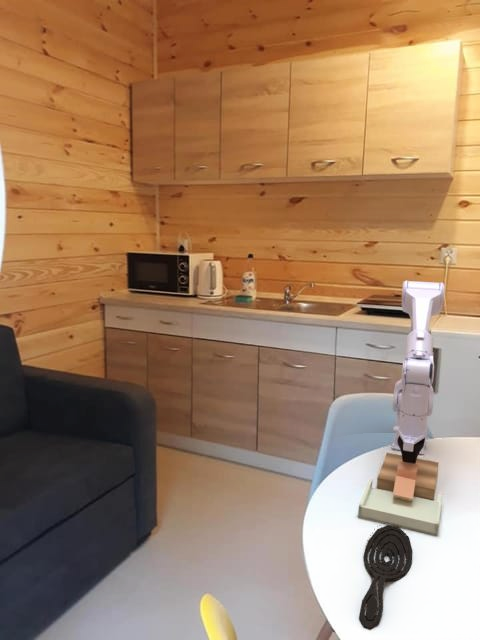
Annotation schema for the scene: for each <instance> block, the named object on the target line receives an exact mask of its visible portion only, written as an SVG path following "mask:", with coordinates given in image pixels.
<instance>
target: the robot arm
mask: <svg viewBox="0 0 480 640" xmlns="http://www.w3.org/2000/svg"><path fill="white" fill-rule="evenodd" d="M445 287H446V286H445V284H444V283H443V282H442V281H441V282H432V281H431V282H430V281H417V280H416V281H413V280H411V281H410V280H408V279H407V280H405V281H403V282H402V289H401V290H402V291H401V292H402V293H401V309H402V312H404V313H406V314H408V316H409V318H410V322H411V323H410V333H408V334H407V336H406V342H405V343H406V344H405V354H404V355H405V356H404V359H403V361H402V369H401V378H400V379H399V380H398V381H396V383H395V384H394V390H393V397H392V398H393V400H392V410H393V412H395V413H396V424H395V425H394V426H393V432H394V433H395V435H394V438H393V441H392V444H391V449H392V450H396V451H400V453H401V454H400V455H402V461H403V462H408V463H413V464H416V460H417V458H418V456H419V455H424V453H425V452H424V451H425V449H426V448H425V447H426V443H427V439H426V437H427V424H428V423H427V422H428V417H430V416H431V415H432V414H433V407H434V388H433V383H434V376H435V375H434V374H435V363H434V356H433V347H434V337H433V335H432V334H431V333H430V332H429V329H430V321H431V318H432V317H433V316H436V315H439V314H440V312H441V311H442V308H443V305H444V298H445V290H446V289H445ZM429 381H430V383H429Z"/></svg>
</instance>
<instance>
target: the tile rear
mask: <svg viewBox="0 0 480 640" xmlns="http://www.w3.org/2000/svg"><path fill="white" fill-rule="evenodd" d="M417 471H418V464H413V463H408V462H403V461H399V464H398V468H397V476H400V477H405V478H409V479H413V480H416V479H417Z"/></svg>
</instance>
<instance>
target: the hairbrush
mask: <svg viewBox="0 0 480 640" xmlns="http://www.w3.org/2000/svg"><path fill="white" fill-rule="evenodd" d="M384 523H385V522H384ZM386 523H387V522H386ZM394 524H395V523H394ZM397 526H398V525H397ZM376 527H378V528H377V529H376V528H374V531H375V532H372V535H371V534H369V535H370V537H369V538H368V539H367V540H366V543H365V548H364V553H363V565H364V567H365V570H366V572H367V573H368V575H369V576H370V577H371V578H372V580H371V583H370V585H369V588H368V589H367V591H366V593H365V594H364V596H363V598H362V600H361V605H360V611H359V616H358V617H359V622H360V624H361V626H362V627H363V628H364V629H367V630H373V629H374V628H375V627H376V628H377V627H378V626H379V625H380V622H381V619H382V616H383V611H384V588H385V586H386V585H385V584H388V583H392V582H397V581H399V580H401V579H403V578H404V577H406V575H407V574H408V572H409V571H410V570H411V567H412V564H413V553H414V552H413V548H412V543H411V539H410V536H408V534H407V533H406V532H405V530H403V528H402V527H401V528H400V527H396V526H392V525H388V524H384V526H381V524H379V526H378V525H377V526H376ZM386 557H388V558H389V560H388V561H387V560H386Z"/></svg>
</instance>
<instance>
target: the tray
mask: <svg viewBox="0 0 480 640" xmlns="http://www.w3.org/2000/svg"><path fill="white" fill-rule="evenodd" d="M442 500H443V493H438V500H434V501H433V500H428V499H423V498H419V497H414V496H413V502H410V501H406V500H402V499H398V498H394V497H393V492H391V491H386V490H381V489H377V487H373V478H369V479H368V482H367V485H366V487H365V490H364V492H363V494H362V497H361V500H360V503H359V505H358V510H357V511H358V512H357V518H359V519H362V520H363V519H364V520H367V521H371V522H375V523H380V524H384V525H391V526H396V527H400V529H405V530H409V531H414V532H417V533H422V534H427V535H430V536H434V537H438V536H439V535H438V533H439V524H440V516H441V508H442V502H443V501H442ZM384 522H385V523H384ZM386 522H387V523H386ZM394 523H395V524H394ZM397 525H398V526H397ZM401 527H402V528H401Z"/></svg>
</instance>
